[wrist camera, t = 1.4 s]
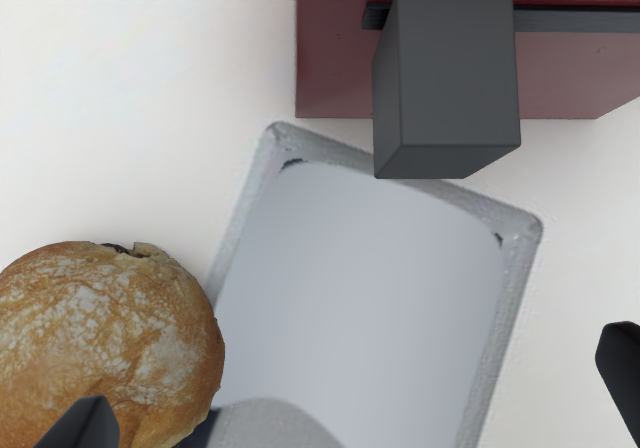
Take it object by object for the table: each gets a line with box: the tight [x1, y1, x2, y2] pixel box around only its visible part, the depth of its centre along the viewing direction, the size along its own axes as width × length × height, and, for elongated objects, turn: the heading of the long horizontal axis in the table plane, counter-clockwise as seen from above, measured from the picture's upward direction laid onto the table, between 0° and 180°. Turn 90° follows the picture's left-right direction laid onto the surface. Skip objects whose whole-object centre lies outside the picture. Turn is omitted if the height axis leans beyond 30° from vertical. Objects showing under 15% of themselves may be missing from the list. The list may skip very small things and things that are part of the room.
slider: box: [371, 0, 521, 179], centre depth 14 cm, size 4×3×4 cm
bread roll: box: [0, 241, 225, 448], centre depth 20 cm, size 10×10×8 cm
